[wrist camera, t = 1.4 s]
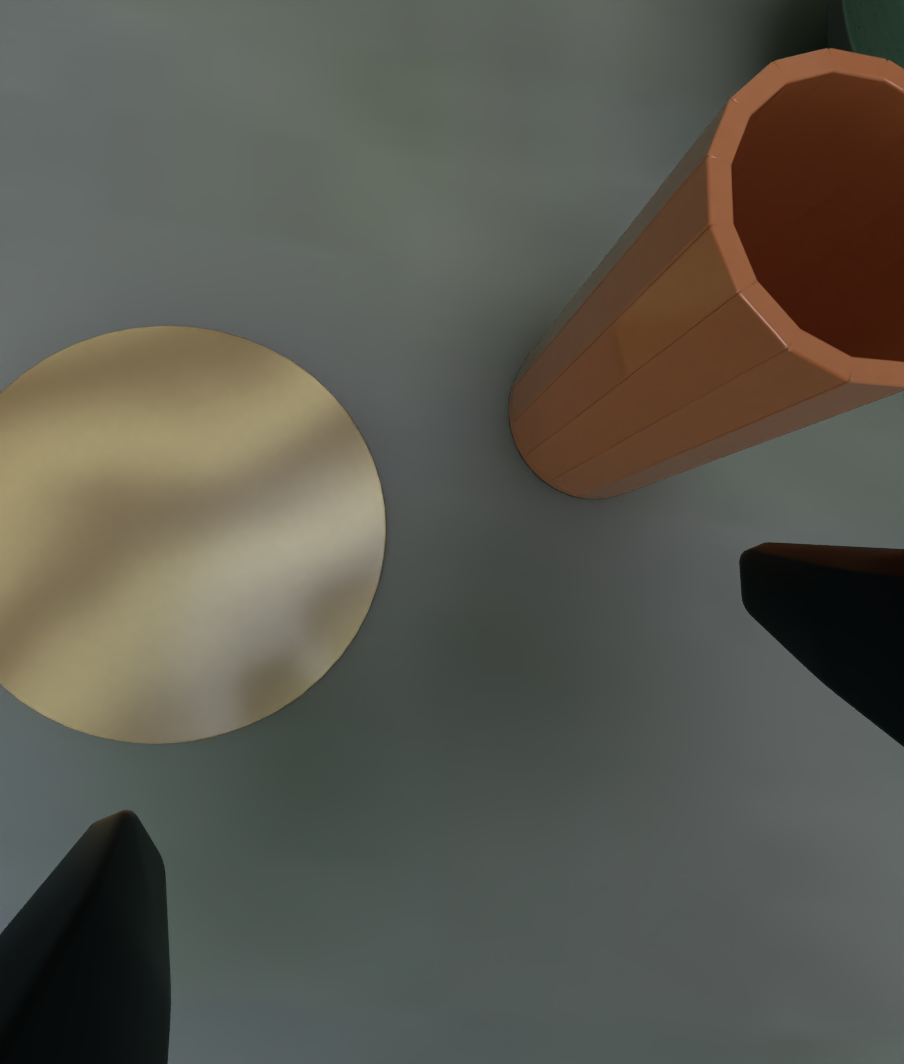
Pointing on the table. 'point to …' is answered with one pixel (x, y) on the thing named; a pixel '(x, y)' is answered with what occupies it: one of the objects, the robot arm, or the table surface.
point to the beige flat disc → (179, 534)
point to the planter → (867, 28)
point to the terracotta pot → (735, 289)
